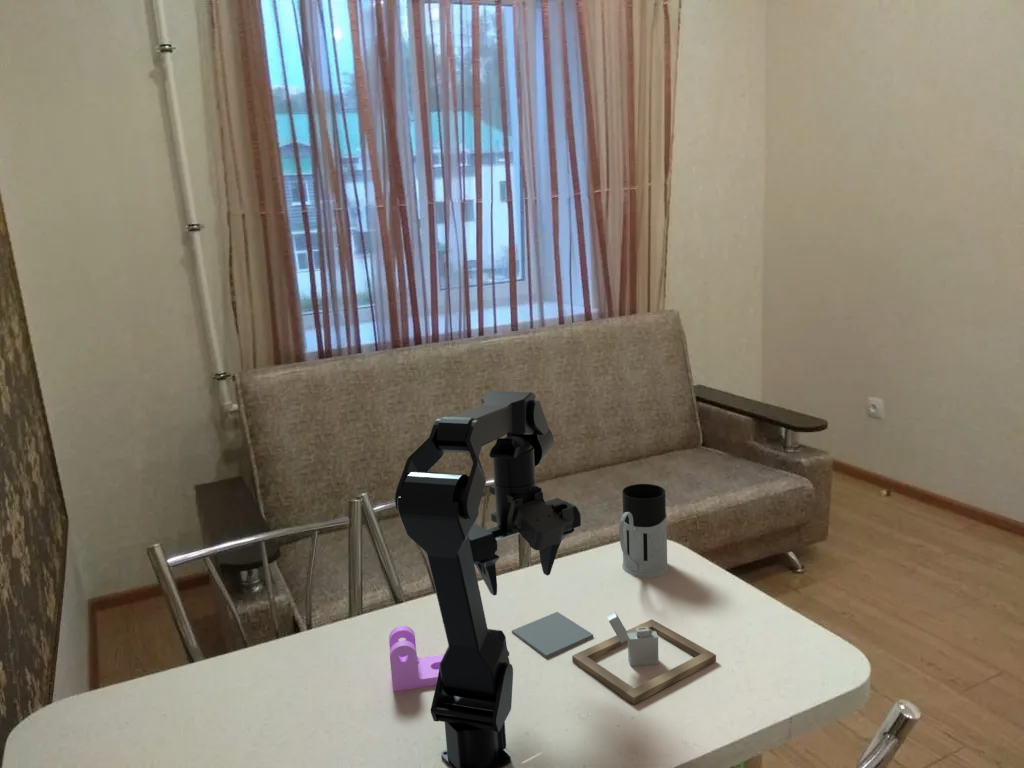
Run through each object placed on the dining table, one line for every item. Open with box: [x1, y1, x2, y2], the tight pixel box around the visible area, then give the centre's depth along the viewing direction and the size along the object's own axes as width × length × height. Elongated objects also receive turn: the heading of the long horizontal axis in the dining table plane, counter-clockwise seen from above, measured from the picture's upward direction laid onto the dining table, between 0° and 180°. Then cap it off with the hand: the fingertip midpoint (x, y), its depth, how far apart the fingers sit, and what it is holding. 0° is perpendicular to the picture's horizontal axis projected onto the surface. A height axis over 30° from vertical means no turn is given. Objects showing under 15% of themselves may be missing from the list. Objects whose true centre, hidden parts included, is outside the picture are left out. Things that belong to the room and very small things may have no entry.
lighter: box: [606, 610, 660, 667], centre depth 115 cm, size 7×2×8 cm, turn 92°
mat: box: [511, 611, 594, 659], centre depth 124 cm, size 9×9×1 cm
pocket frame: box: [571, 618, 717, 705], centre depth 116 cm, size 16×13×1 cm
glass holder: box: [618, 483, 669, 579], centre depth 140 cm, size 9×14×15 cm, turn 148°
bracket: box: [388, 625, 445, 692], centre depth 115 cm, size 13×6×7 cm, turn 100°
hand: (520, 584), depth 113 cm, fingers open, 9 cm apart
